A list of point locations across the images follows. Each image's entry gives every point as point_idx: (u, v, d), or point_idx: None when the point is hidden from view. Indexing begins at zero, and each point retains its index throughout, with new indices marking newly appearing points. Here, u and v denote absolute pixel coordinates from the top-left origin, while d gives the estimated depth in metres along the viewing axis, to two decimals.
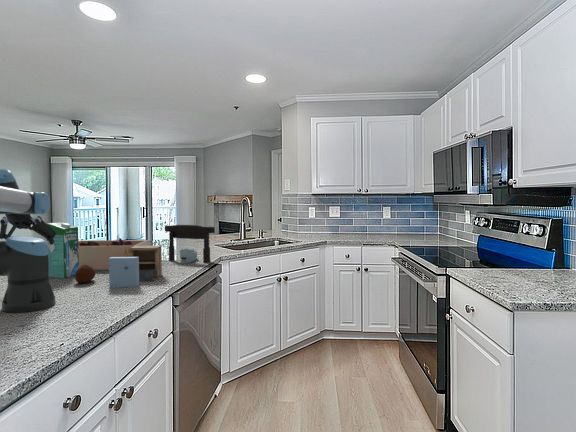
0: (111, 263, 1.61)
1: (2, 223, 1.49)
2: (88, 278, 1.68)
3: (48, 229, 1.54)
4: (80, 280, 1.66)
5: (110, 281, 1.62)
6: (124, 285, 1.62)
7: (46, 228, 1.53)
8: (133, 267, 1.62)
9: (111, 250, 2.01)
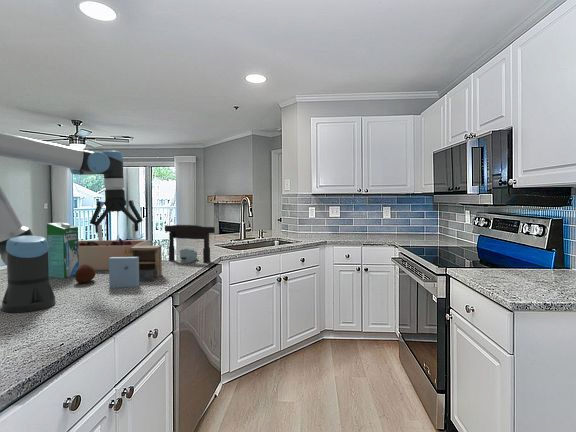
0: (111, 263, 1.61)
1: (98, 204, 1.61)
2: (88, 278, 1.68)
3: (137, 213, 1.64)
4: (80, 280, 1.66)
5: (110, 281, 1.62)
6: (124, 285, 1.62)
7: (136, 211, 1.64)
8: (133, 267, 1.62)
9: (111, 250, 2.01)
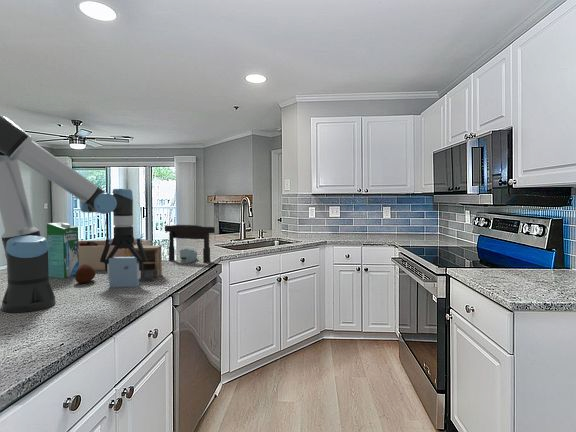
0: (111, 263, 1.61)
1: (107, 242, 1.61)
2: (88, 278, 1.68)
3: (143, 252, 1.64)
4: (80, 280, 1.66)
5: (110, 281, 1.62)
6: (124, 285, 1.62)
7: (142, 250, 1.63)
8: (133, 266, 1.62)
9: (111, 250, 2.01)
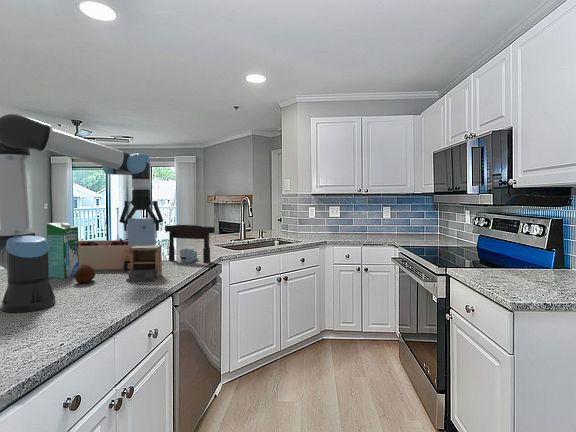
0: (130, 224, 1.73)
1: (126, 203, 1.73)
2: (88, 278, 1.68)
3: (160, 213, 1.75)
4: (80, 280, 1.66)
5: (129, 240, 1.74)
6: (142, 244, 1.74)
7: (159, 212, 1.75)
8: (150, 227, 1.74)
9: (111, 250, 2.01)
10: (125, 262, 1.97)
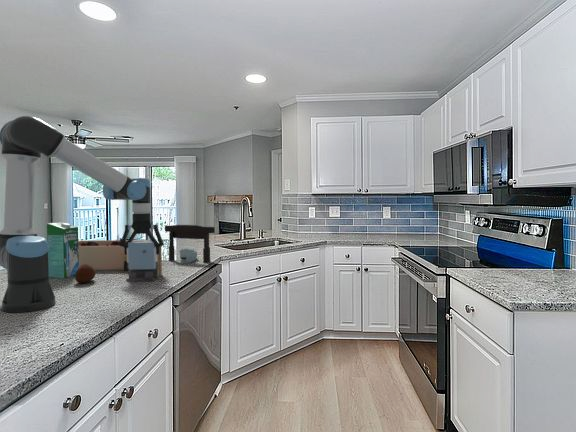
0: (130, 247, 1.74)
1: (126, 227, 1.74)
2: (88, 278, 1.68)
3: (160, 237, 1.76)
4: (80, 280, 1.66)
5: (129, 264, 1.74)
6: (142, 267, 1.75)
7: (159, 235, 1.76)
8: (150, 250, 1.75)
9: (111, 250, 2.01)
10: (125, 262, 1.97)
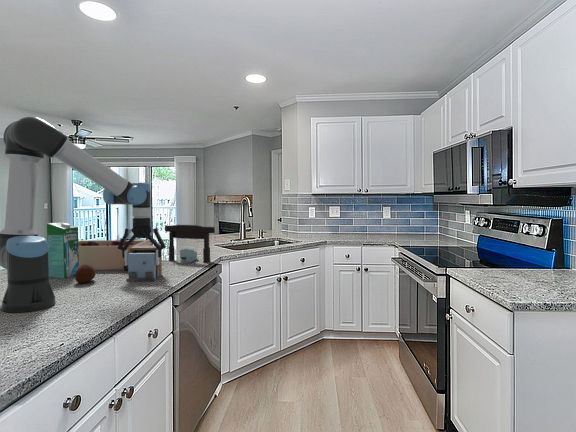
0: (130, 259, 1.74)
1: (126, 231, 1.74)
2: (88, 278, 1.68)
3: (161, 240, 1.76)
4: (80, 280, 1.66)
5: None
6: None
7: (160, 238, 1.76)
8: (150, 262, 1.75)
9: (111, 250, 2.01)
10: None
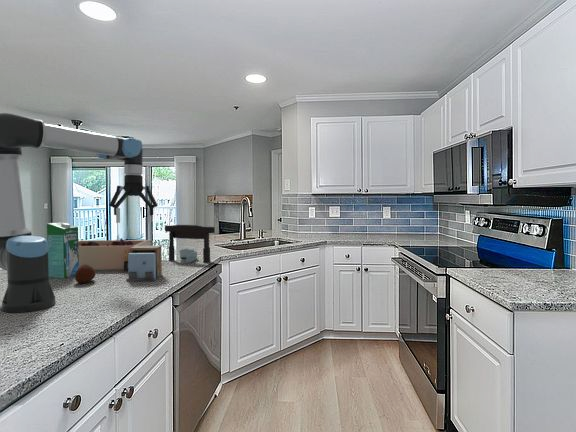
0: (130, 259, 1.74)
1: (118, 188, 1.73)
2: (88, 278, 1.68)
3: (153, 198, 1.75)
4: (80, 280, 1.66)
5: None
6: None
7: (152, 196, 1.75)
8: (150, 262, 1.75)
9: (111, 250, 2.01)
10: (125, 262, 1.97)
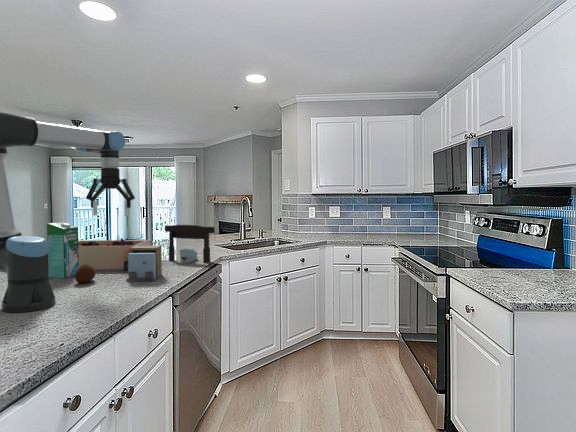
0: (130, 259, 1.74)
1: (94, 181, 1.74)
2: (88, 278, 1.68)
3: (130, 191, 1.77)
4: (80, 280, 1.66)
5: None
6: None
7: (129, 189, 1.76)
8: (150, 262, 1.75)
9: (111, 250, 2.01)
10: (125, 262, 1.97)
